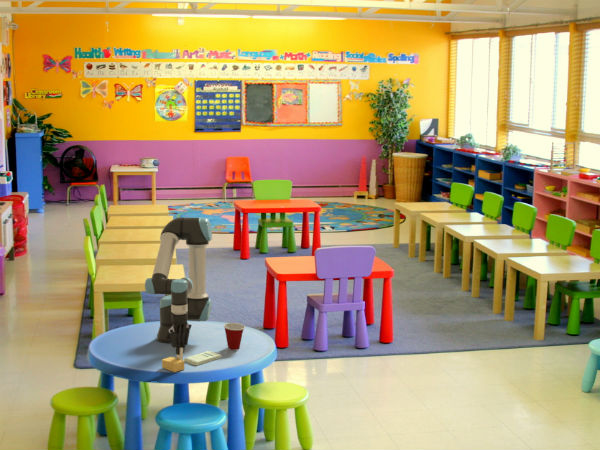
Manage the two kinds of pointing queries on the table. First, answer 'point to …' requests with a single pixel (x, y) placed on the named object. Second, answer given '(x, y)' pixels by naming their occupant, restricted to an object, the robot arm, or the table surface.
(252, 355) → the table surface
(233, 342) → the plastic cup
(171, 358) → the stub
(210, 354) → the pale green flat block
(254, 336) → the table surface
